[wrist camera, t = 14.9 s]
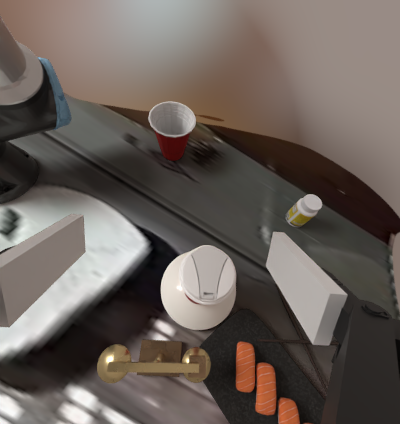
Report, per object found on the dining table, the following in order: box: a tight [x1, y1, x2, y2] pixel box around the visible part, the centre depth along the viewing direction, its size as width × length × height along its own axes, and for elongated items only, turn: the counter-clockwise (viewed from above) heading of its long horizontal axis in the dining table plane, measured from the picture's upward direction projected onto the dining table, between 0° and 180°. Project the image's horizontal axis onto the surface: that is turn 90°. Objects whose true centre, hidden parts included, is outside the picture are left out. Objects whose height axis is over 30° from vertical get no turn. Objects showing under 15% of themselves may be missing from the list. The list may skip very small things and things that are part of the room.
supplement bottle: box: [286, 194, 322, 227], centre depth 50 cm, size 5×5×8 cm
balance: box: [97, 339, 211, 383], centre depth 33 cm, size 16×5×12 cm, turn 87°
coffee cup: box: [179, 245, 236, 305], centre depth 36 cm, size 8×8×15 cm
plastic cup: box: [148, 101, 196, 161], centre depth 55 cm, size 11×11×12 cm
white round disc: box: [161, 252, 236, 330], centre depth 43 cm, size 15×15×1 cm
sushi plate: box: [199, 284, 339, 424], centre depth 38 cm, size 29×30×4 cm
